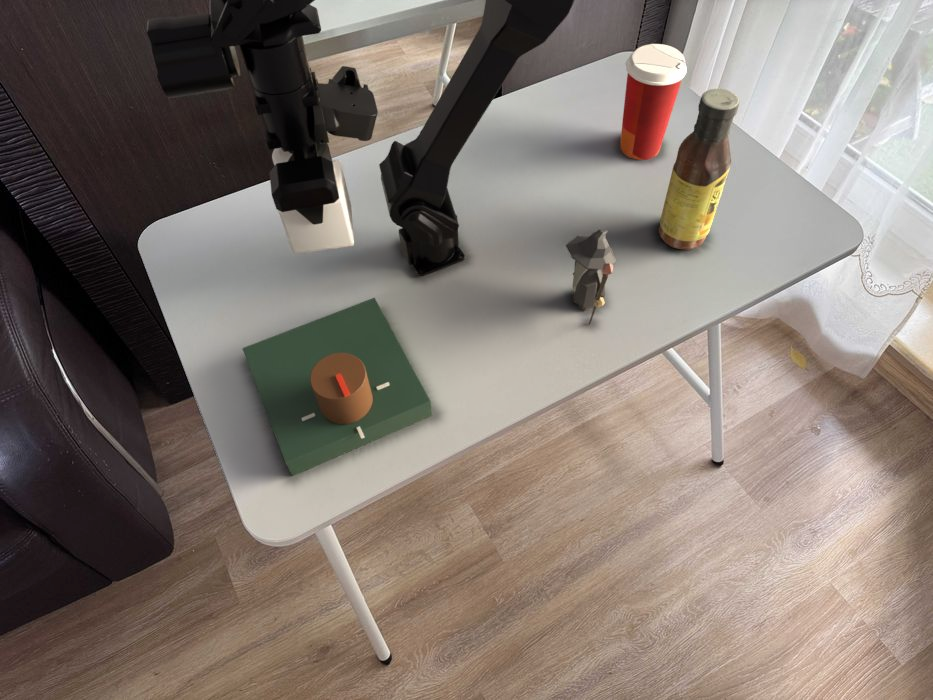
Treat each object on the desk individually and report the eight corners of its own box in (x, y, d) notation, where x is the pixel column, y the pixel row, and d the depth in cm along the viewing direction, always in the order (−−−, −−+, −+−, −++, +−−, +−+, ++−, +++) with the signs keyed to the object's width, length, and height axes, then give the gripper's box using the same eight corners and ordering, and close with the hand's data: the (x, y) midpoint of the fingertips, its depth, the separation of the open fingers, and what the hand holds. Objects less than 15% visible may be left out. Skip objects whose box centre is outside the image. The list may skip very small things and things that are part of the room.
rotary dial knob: (312, 391, 76) (301, 363, 72) (361, 371, 78) (353, 343, 73) (330, 432, 73) (320, 406, 69) (380, 411, 75) (373, 384, 70)
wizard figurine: (551, 293, 87) (559, 222, 77) (589, 275, 89) (601, 203, 79) (591, 340, 83) (605, 270, 73) (630, 320, 84) (648, 249, 75)
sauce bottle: (706, 255, 90) (752, 122, 74) (655, 249, 91) (690, 116, 75) (706, 219, 94) (751, 85, 78) (658, 213, 95) (692, 80, 78)
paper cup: (675, 141, 103) (698, 51, 92) (653, 171, 99) (674, 82, 88) (625, 123, 106) (641, 35, 94) (602, 153, 102) (616, 64, 91)
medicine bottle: (351, 205, 87) (331, 121, 77) (354, 246, 82) (334, 163, 73) (292, 213, 86) (265, 130, 77) (292, 255, 82) (264, 173, 72)
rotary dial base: (377, 313, 86) (374, 296, 84) (436, 421, 77) (434, 406, 75) (249, 363, 82) (241, 347, 80) (294, 483, 73) (287, 469, 71)
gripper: (379, 122, 63) (398, 245, 76) (352, 13, 74) (372, 137, 87) (253, 143, 62) (294, 264, 75) (244, 29, 73) (281, 152, 86)
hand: (314, 200), depth 81 cm, fingers closed on medicine bottle, 7 cm apart
